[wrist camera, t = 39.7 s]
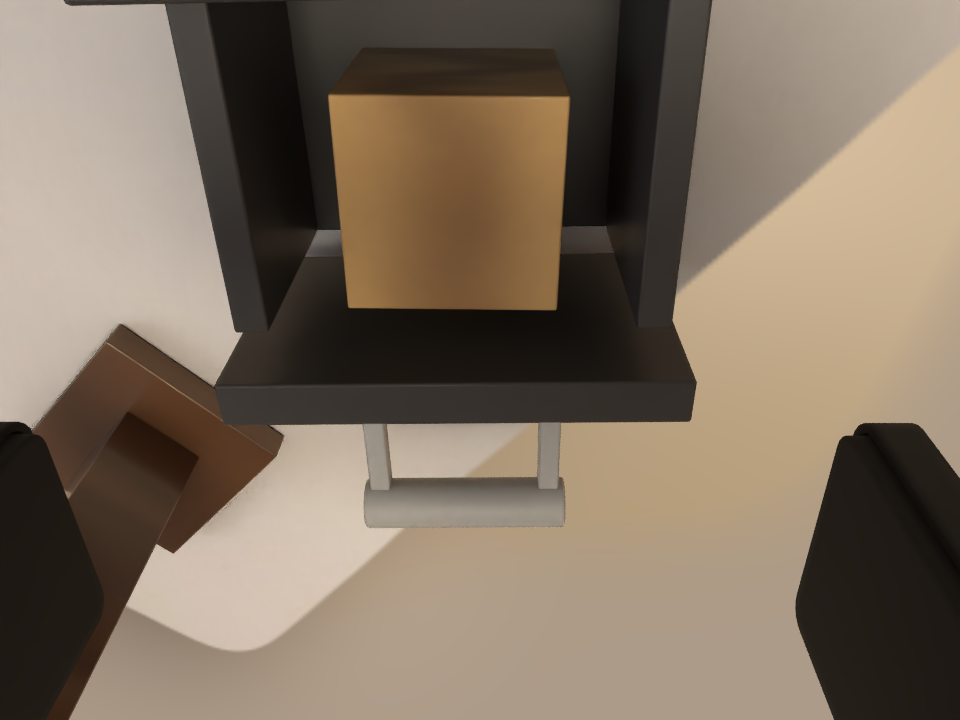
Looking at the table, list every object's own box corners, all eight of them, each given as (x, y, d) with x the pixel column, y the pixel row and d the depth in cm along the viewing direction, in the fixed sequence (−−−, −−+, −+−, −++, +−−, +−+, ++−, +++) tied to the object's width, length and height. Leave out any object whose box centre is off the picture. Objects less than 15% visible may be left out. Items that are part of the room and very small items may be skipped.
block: (554, 48, 20) (570, 96, 16) (544, 229, 23) (557, 311, 19) (361, 47, 20) (327, 94, 16) (374, 227, 23) (347, 309, 19)
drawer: (628, 430, 28) (666, 588, 22) (312, 432, 28) (261, 589, 22) (685, -140, 19) (777, -143, 13) (218, -129, 19) (89, -126, 13)
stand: (120, 323, 27) (-496, 1076, 10) (284, 436, 30) (6, 1191, 13) (25, 438, 30) (-584, 1181, 13) (183, 532, 32) (-156, 1259, 16)
